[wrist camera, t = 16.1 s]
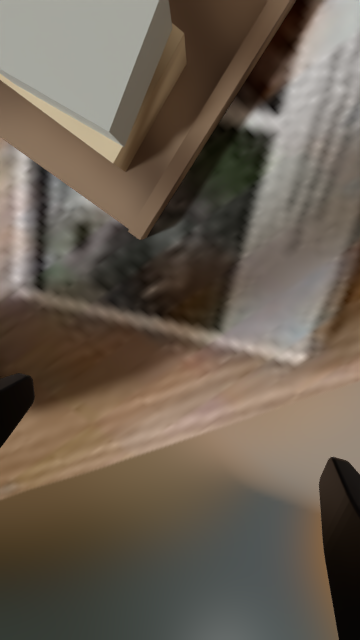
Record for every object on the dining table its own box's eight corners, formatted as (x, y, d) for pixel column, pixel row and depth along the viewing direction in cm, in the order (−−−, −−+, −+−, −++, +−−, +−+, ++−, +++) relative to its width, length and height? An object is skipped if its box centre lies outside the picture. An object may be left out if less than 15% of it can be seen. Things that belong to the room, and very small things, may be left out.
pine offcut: (125, 172, 17) (113, 163, 14) (25, 97, 16) (-6, 75, 13) (186, 63, 15) (184, 33, 12) (77, -27, 14) (52, -78, 12)
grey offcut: (124, 147, 14) (108, 131, 12) (14, 84, 13) (-26, 54, 11) (172, 28, 12) (165, -19, 10) (50, -49, 12) (13, -117, 9)
